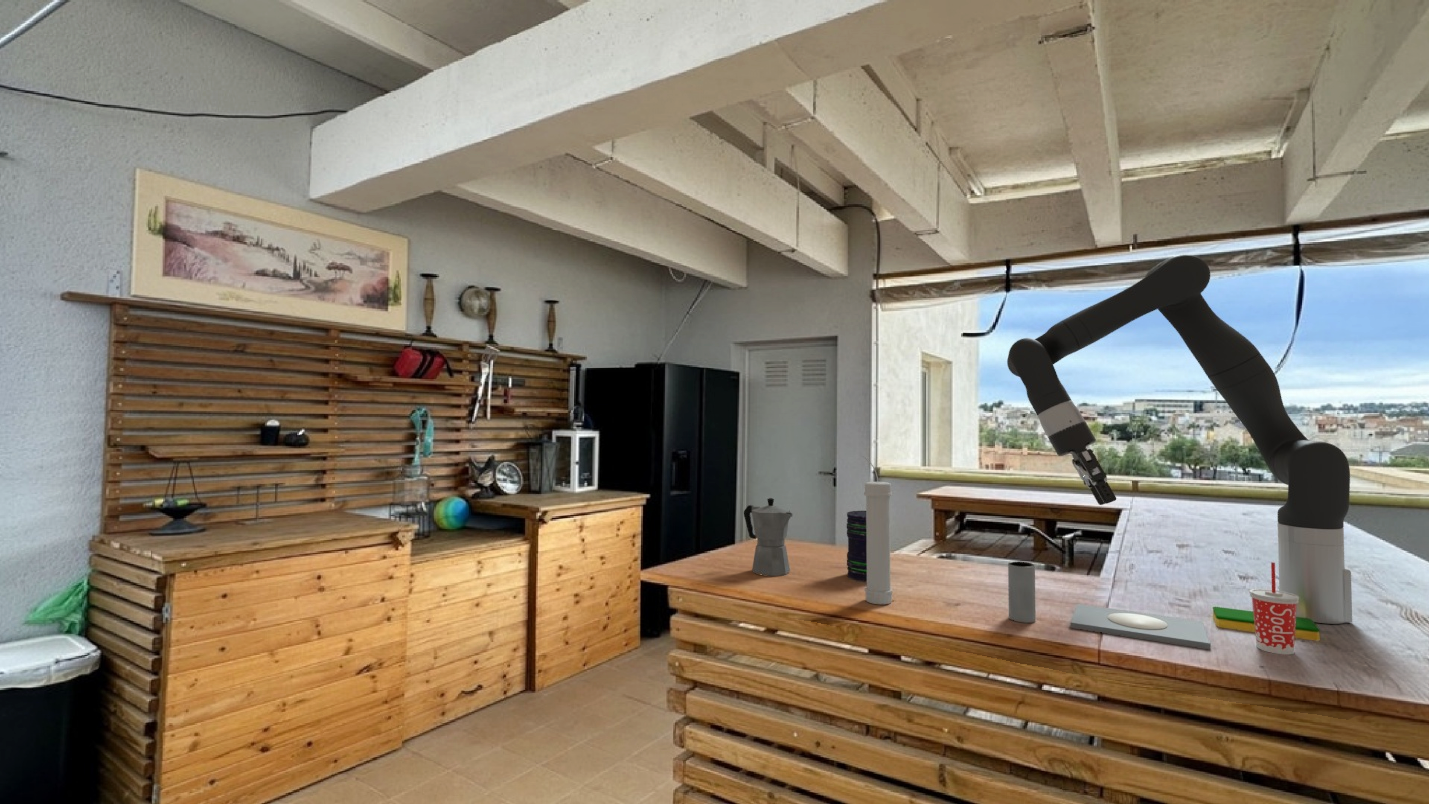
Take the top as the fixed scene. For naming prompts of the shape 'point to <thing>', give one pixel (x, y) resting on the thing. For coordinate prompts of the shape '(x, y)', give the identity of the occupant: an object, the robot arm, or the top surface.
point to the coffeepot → (769, 538)
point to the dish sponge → (1246, 622)
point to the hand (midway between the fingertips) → (1108, 502)
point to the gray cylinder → (1021, 591)
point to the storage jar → (857, 545)
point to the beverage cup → (1274, 618)
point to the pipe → (878, 541)
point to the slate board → (1141, 626)
